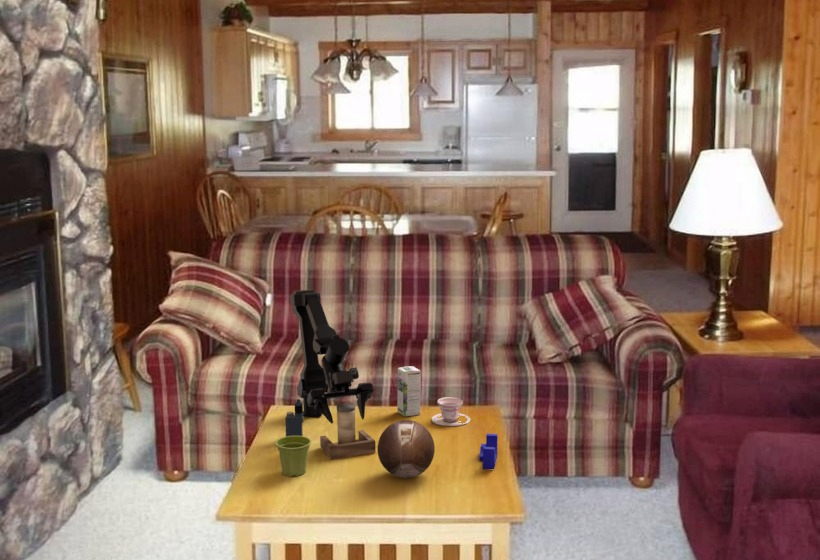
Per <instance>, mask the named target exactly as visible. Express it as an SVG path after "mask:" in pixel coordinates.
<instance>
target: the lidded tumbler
mask: <svg viewBox="0 0 820 560" xmlns="http://www.w3.org/2000/svg"><path fill="white" fill-rule="evenodd" d="M336 415H337V416H336V417H337V423H336V425H337V442H338V445H339V444H346V443H352V442H356V440H357V438H356V437H357V435H356V404H355V403H351V402H343V403H339V404H337V405H336Z"/></svg>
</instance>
